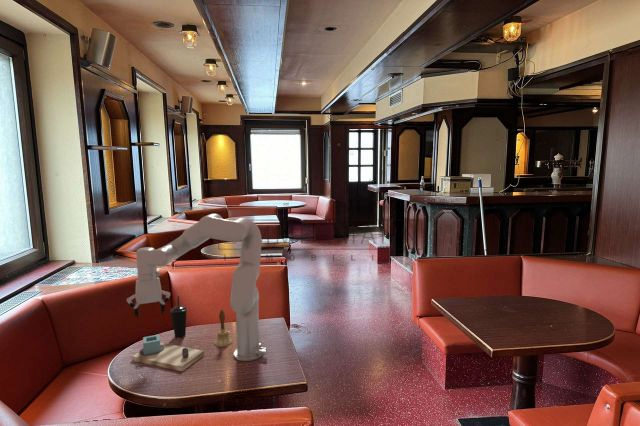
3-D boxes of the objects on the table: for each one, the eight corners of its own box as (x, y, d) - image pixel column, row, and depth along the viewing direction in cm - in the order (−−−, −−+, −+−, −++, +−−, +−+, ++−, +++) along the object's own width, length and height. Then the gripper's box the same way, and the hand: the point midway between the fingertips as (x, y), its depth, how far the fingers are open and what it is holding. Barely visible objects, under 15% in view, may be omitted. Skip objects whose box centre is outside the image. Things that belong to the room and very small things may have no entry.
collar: (160, 345, 168) (159, 334, 167) (160, 351, 162) (159, 340, 162) (143, 348, 165) (143, 337, 165) (143, 354, 159) (143, 343, 159)
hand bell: (229, 346, 171) (228, 313, 169) (211, 346, 171) (210, 313, 169) (234, 338, 179) (233, 306, 177) (217, 338, 179) (215, 306, 177)
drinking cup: (168, 337, 180) (166, 297, 178) (180, 331, 187) (178, 292, 185) (179, 340, 177) (177, 300, 175) (191, 334, 184) (190, 295, 181)
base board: (204, 355, 163) (203, 342, 162) (182, 371, 150) (181, 357, 149) (155, 345, 172) (154, 333, 172) (130, 360, 159) (129, 346, 158)
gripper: (168, 271, 167) (171, 308, 169) (125, 276, 160) (128, 315, 162) (169, 276, 160) (172, 314, 162) (124, 281, 153) (127, 321, 155)
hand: (150, 314), depth 162 cm, fingers open, 9 cm apart
